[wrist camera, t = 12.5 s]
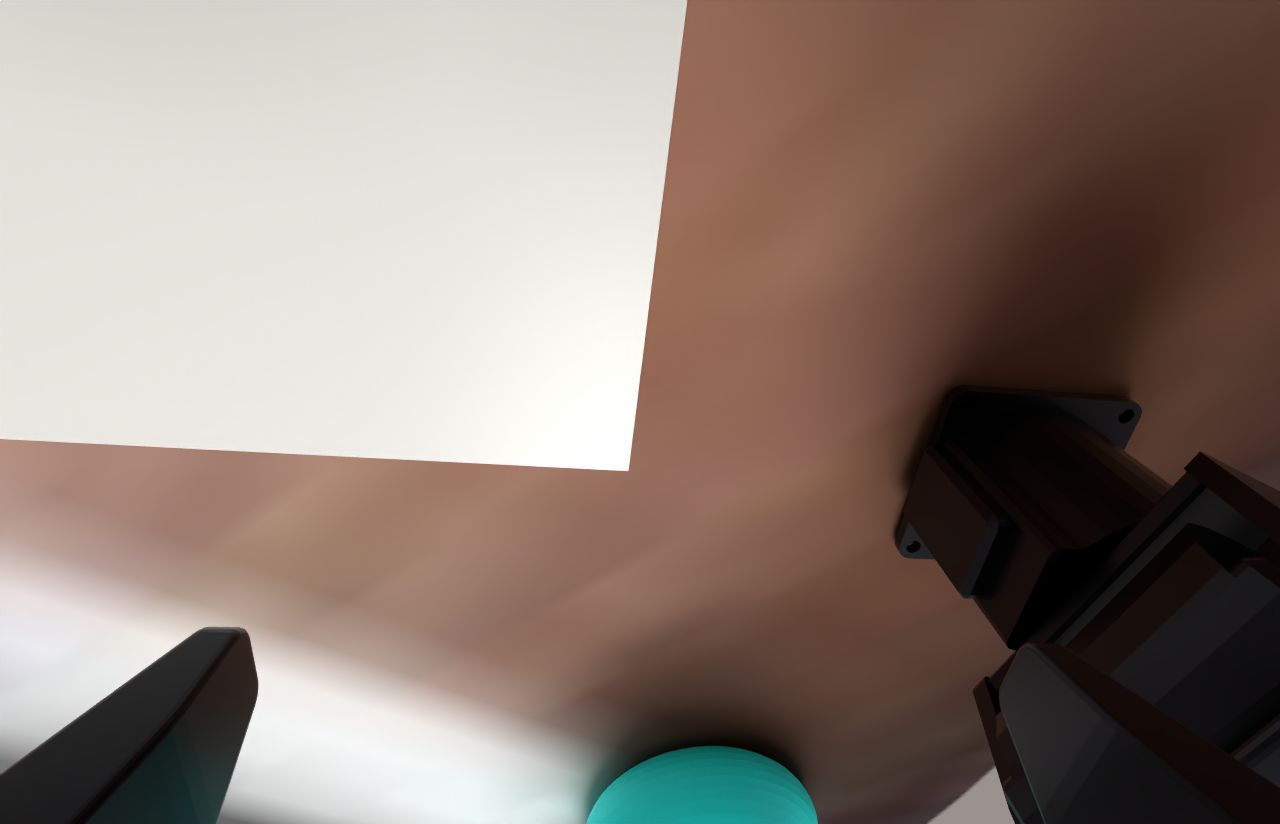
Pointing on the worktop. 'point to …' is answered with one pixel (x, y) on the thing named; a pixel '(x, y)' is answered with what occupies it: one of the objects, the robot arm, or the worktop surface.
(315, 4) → the white rectangular sheet
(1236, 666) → the robot arm
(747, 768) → the pair of cyan ovals
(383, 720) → the worktop surface
